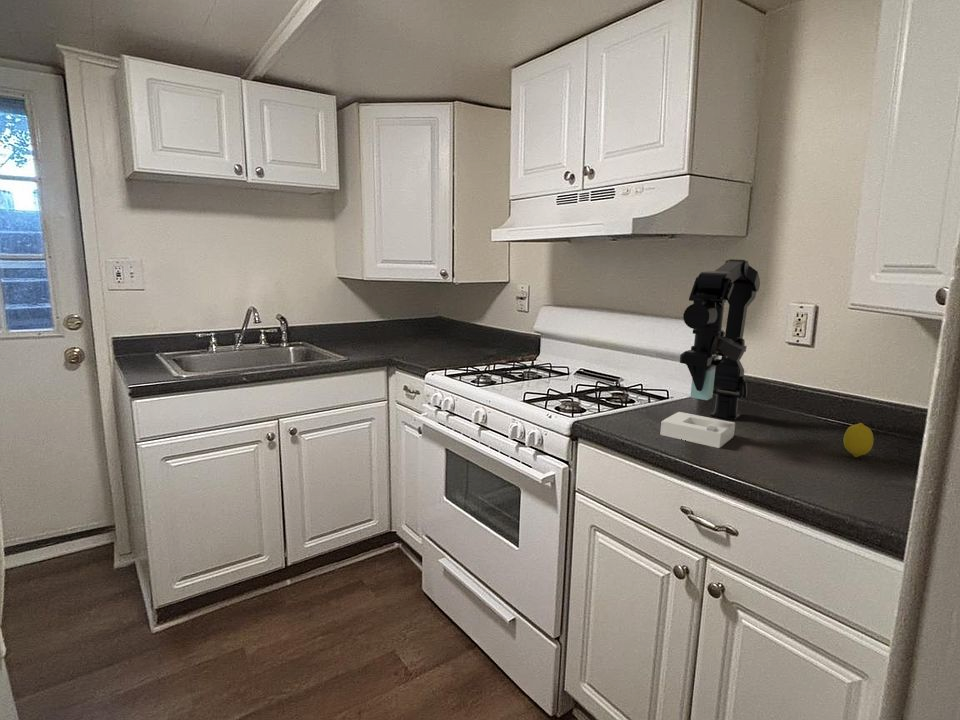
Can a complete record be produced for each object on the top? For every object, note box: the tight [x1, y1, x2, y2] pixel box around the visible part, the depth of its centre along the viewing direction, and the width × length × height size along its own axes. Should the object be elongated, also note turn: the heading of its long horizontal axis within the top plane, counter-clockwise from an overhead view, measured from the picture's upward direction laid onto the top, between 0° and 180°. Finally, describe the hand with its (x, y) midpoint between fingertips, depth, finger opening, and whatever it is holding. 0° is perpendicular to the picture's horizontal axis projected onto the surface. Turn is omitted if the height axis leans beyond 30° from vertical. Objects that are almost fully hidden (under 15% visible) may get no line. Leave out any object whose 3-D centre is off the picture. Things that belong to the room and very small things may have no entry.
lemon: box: [843, 422, 874, 458], centre depth 125 cm, size 6×6×8 cm
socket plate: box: [659, 411, 736, 449], centre depth 137 cm, size 12×14×4 cm
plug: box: [690, 365, 716, 401], centre depth 135 cm, size 4×4×8 cm
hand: (702, 389), depth 135 cm, fingers closed on plug, 4 cm apart
